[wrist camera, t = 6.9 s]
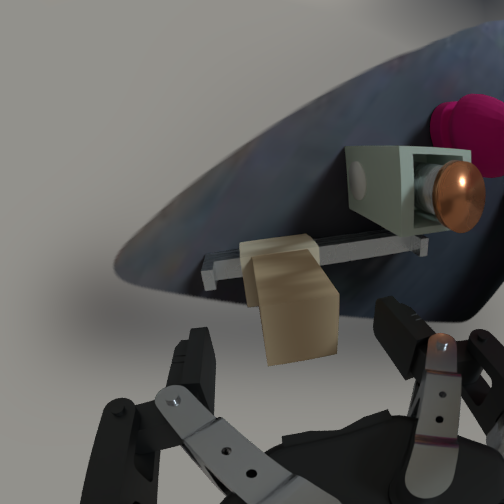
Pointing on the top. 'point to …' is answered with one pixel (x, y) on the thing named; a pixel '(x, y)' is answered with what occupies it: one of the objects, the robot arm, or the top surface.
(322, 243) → the rail
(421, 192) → the plunger
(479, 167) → the pepper mill
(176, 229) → the top surface
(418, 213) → the cabinet
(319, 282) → the carriage
